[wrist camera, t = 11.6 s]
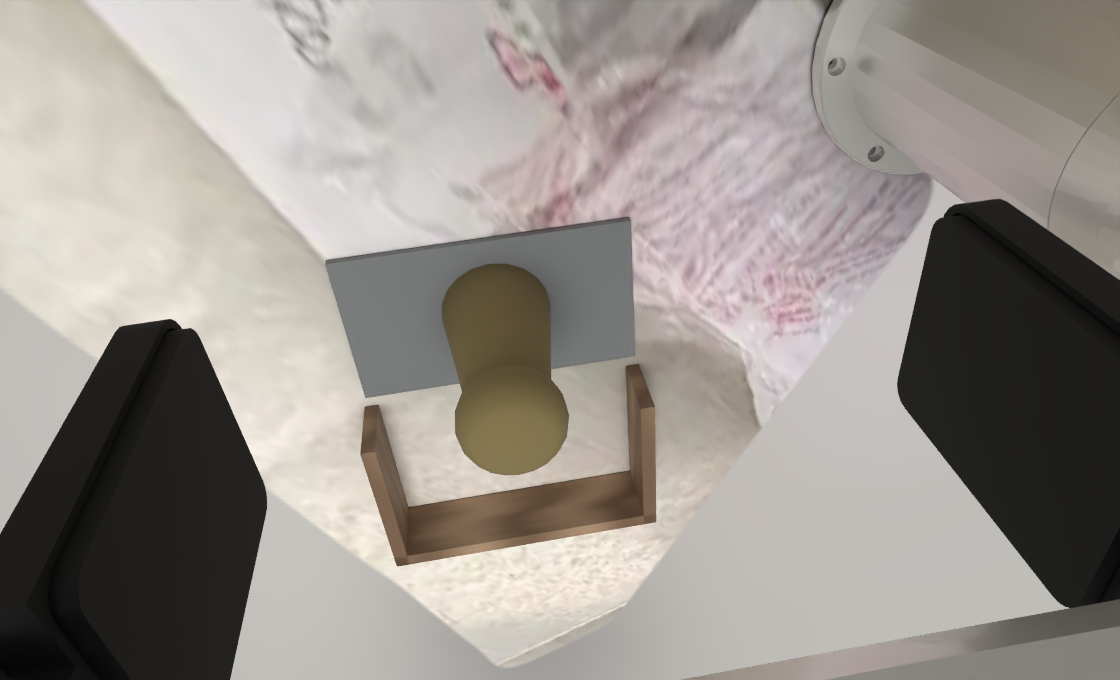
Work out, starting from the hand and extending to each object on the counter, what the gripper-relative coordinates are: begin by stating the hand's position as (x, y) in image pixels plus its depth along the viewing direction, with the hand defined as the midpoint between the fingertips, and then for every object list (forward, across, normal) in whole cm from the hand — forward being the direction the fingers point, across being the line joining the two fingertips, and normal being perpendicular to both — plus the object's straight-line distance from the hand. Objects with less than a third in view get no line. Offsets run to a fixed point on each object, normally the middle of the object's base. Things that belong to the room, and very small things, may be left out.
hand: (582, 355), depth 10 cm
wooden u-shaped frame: (+28, +2, +28) cm, 39 cm away
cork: (+28, +1, +17) cm, 33 cm away
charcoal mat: (+28, +2, +18) cm, 33 cm away
